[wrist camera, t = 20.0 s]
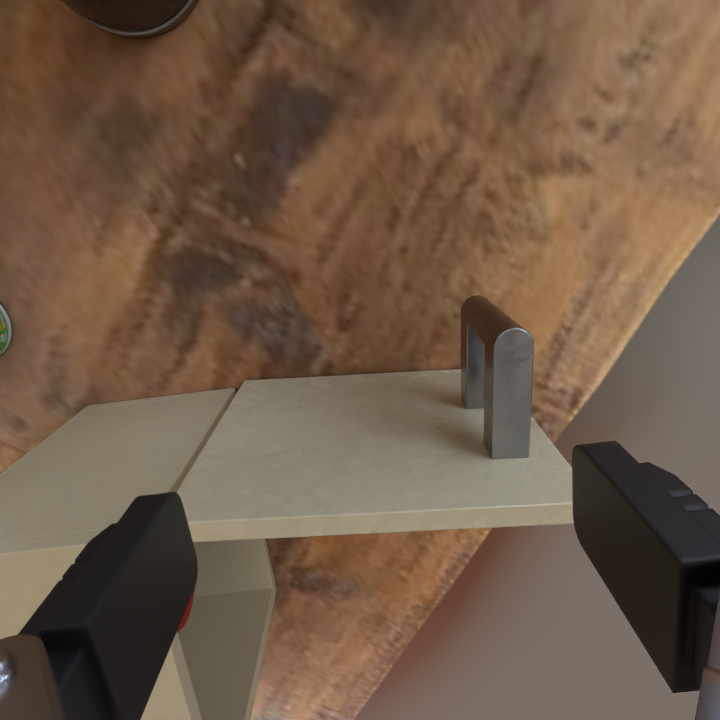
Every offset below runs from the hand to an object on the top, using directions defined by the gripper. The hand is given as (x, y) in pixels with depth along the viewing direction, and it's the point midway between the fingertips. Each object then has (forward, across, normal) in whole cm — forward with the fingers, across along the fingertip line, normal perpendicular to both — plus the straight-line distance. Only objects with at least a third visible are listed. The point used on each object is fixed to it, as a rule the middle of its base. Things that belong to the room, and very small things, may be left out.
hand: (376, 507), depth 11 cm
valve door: (+27, 0, +4) cm, 27 cm away
